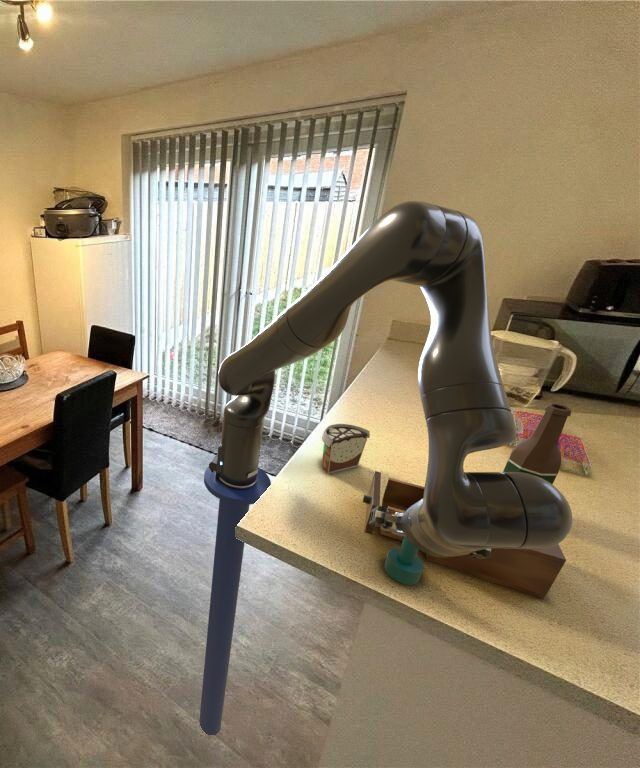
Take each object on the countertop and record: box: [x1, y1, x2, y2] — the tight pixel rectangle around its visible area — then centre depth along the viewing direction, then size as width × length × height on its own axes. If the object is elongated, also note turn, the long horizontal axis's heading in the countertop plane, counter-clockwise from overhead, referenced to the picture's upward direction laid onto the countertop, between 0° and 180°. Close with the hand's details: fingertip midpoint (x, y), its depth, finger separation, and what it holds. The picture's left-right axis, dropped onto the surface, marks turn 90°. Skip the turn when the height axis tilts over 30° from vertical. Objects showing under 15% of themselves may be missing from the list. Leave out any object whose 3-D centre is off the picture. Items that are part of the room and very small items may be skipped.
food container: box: [321, 423, 371, 474], centre depth 98 cm, size 12×6×10 cm, turn 108°
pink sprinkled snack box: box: [509, 408, 593, 477], centre depth 106 cm, size 30×15×5 cm, turn 139°
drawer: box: [362, 470, 425, 542], centre depth 77 cm, size 16×13×7 cm
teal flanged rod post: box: [383, 537, 424, 586], centre depth 67 cm, size 5×5×12 cm
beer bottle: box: [502, 403, 572, 485], centre depth 80 cm, size 8×8×24 cm
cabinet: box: [425, 543, 567, 600], centre depth 72 cm, size 16×14×9 cm
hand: (415, 535), depth 65 cm, fingers open, 8 cm apart
